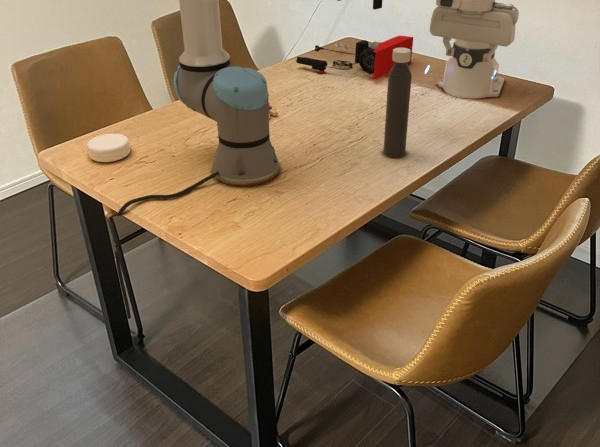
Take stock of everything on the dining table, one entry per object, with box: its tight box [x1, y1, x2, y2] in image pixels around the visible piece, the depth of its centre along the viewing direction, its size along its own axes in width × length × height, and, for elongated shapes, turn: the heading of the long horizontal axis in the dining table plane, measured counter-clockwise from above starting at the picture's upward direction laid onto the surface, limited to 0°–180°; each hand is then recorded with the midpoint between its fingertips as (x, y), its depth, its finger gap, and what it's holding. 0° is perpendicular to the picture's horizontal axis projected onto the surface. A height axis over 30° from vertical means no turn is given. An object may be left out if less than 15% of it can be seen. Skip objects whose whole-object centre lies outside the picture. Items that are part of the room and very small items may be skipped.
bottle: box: [382, 62, 413, 159], centre depth 146 cm, size 5×5×25 cm
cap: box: [392, 48, 412, 63], centre depth 140 cm, size 4×4×2 cm
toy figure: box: [268, 101, 278, 119], centre depth 176 cm, size 2×7×12 cm
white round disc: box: [86, 133, 131, 163], centre depth 153 cm, size 10×10×4 cm
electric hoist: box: [295, 35, 414, 81], centre depth 208 cm, size 10×27×30 cm
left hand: (358, 4), depth 166 cm, fingers open, 13 cm apart
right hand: (467, 58), depth 153 cm, fingers open, 8 cm apart
